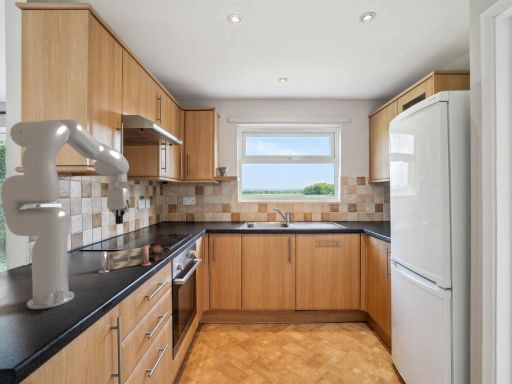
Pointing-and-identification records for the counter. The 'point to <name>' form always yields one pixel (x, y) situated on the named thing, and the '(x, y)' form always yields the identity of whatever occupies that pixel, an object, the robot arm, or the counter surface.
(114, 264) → the gate
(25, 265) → the counter surface
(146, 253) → the post
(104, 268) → the clear glass cylinder
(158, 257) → the pottery mug
